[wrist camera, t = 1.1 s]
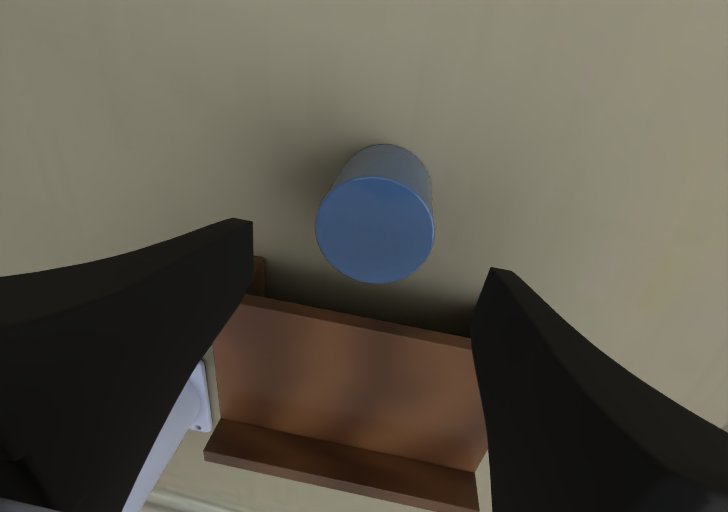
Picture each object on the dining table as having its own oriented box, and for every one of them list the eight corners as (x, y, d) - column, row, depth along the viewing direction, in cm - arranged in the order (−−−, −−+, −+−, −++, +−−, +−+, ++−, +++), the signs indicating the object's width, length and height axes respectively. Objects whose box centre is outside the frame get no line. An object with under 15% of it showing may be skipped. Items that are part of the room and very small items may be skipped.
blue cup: (333, 224, 18) (310, 272, 14) (343, 136, 16) (318, 165, 12) (419, 240, 18) (419, 294, 14) (442, 153, 16) (448, 189, 12)
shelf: (248, 375, 25) (204, 461, 20) (243, 253, 20) (182, 326, 15) (463, 420, 24) (474, 520, 19) (516, 306, 19) (550, 401, 14)
